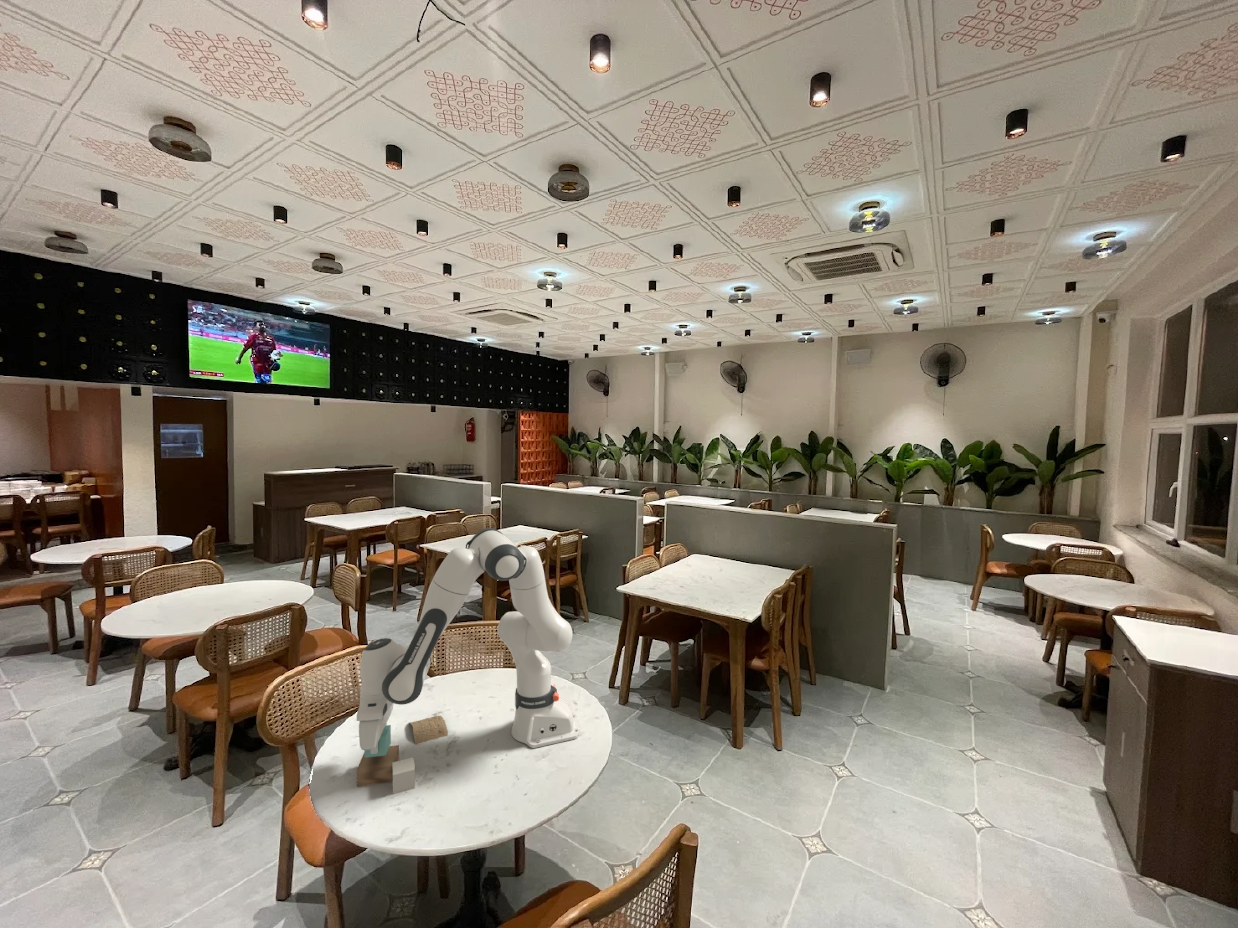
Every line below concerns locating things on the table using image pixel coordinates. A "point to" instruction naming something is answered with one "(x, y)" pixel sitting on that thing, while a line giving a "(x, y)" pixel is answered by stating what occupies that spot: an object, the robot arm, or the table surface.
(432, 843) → the table surface
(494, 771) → the table surface
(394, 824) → the table surface
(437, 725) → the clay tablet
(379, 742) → the teal cube
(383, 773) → the walnut base
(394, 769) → the grey cube
